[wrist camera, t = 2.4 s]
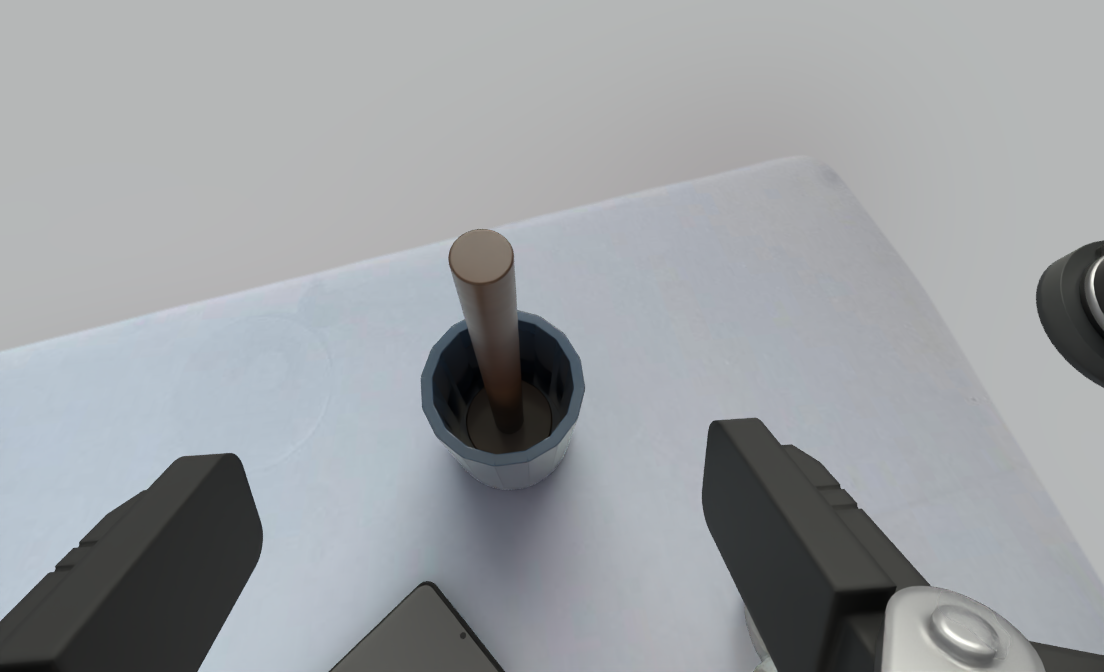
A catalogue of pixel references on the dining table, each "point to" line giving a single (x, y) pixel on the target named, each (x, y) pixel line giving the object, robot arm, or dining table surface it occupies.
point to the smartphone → (420, 640)
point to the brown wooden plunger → (496, 346)
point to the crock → (459, 379)
